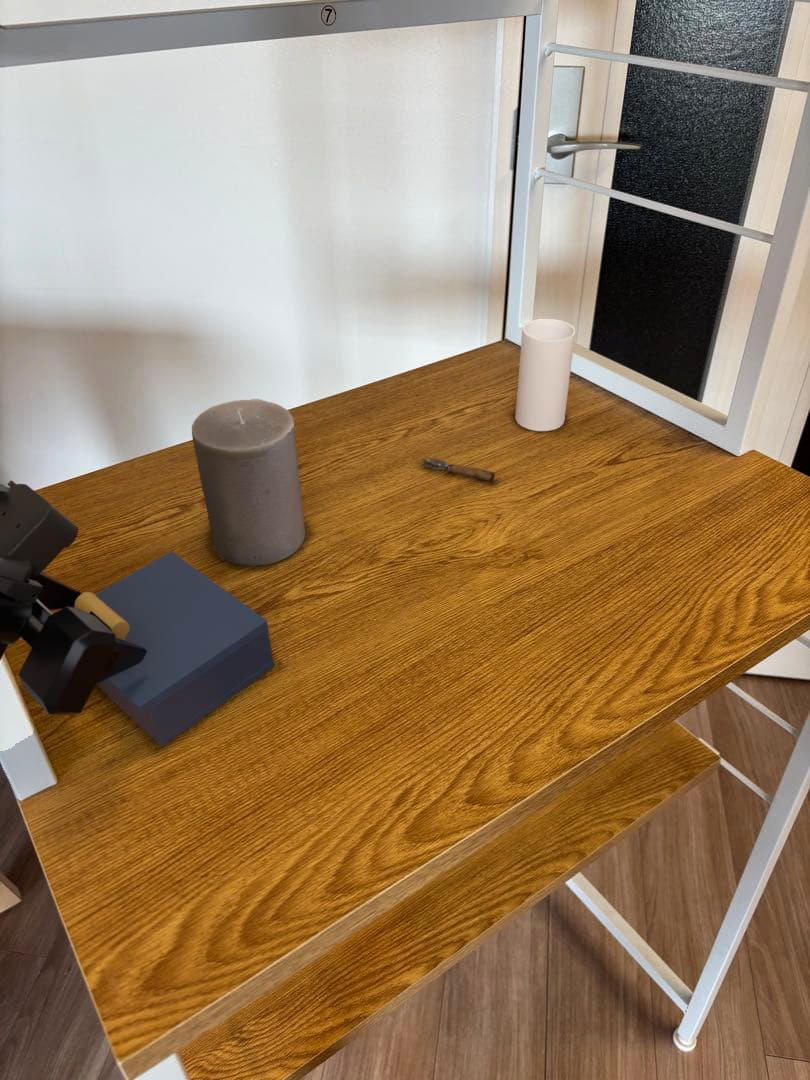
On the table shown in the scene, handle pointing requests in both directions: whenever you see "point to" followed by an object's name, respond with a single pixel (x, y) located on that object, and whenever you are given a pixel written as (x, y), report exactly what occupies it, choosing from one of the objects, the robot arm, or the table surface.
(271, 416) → the pillar candle
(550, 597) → the table surface
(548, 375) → the cup
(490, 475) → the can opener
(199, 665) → the lid
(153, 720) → the chest
